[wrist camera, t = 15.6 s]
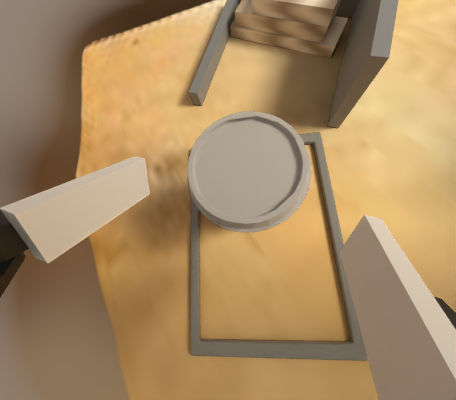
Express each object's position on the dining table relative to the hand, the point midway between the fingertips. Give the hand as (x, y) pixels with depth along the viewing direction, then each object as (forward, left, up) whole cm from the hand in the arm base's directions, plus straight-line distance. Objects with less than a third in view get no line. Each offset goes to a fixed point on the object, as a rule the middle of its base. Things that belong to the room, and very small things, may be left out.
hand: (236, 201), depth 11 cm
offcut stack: (+3, -34, -14) cm, 37 cm away
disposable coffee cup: (0, -3, -13) cm, 14 cm away
